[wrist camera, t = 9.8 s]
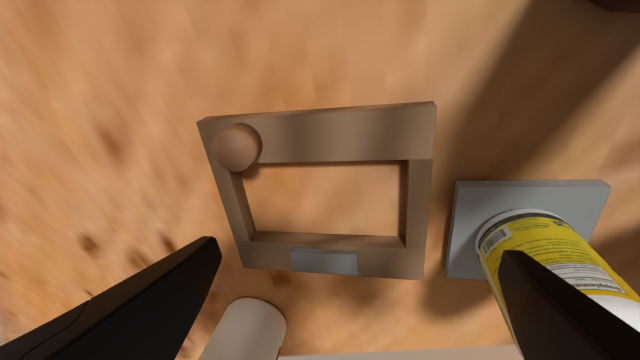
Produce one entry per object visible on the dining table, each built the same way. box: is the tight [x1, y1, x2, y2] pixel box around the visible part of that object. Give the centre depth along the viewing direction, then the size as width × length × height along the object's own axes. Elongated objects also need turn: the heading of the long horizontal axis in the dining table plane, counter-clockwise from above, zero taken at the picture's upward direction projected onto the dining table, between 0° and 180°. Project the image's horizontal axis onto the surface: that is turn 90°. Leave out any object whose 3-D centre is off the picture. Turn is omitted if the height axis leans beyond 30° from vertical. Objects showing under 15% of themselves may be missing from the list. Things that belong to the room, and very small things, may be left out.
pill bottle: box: [475, 208, 640, 358], centre depth 16 cm, size 6×6×11 cm
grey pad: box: [444, 180, 612, 281], centre depth 21 cm, size 9×9×1 cm
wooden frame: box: [196, 101, 437, 281], centre depth 22 cm, size 17×15×4 cm
